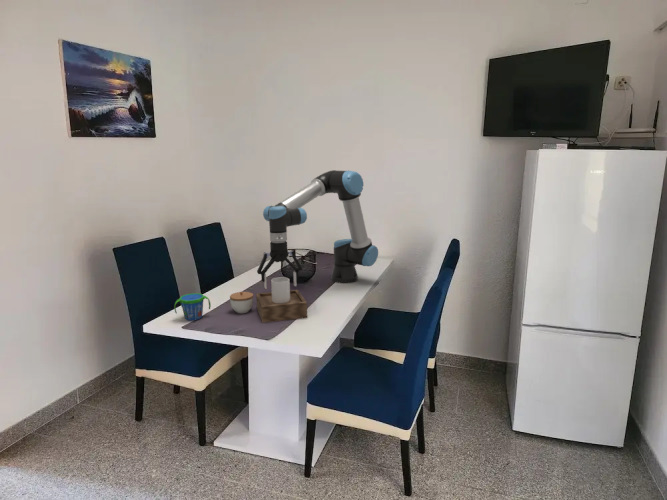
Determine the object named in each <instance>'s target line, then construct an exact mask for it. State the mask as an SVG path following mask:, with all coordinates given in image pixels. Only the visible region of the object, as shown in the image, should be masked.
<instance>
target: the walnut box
mask: <svg viewBox="0 0 667 500" xmlns="http://www.w3.org/2000/svg"><path fill="white" fill-rule="evenodd" d="M255 297H256V309H257V312H258V314H259V318H260V320H261V322H262V323H272V322H273V323H274V322H279V321H290V320H298V319H307V318H308V301H307V300H306V298H304V296H303V295H302V294H301V292H300V291H299V289H290V301H289V302H288V303H284V304H276V303H274V302H273V301H272V291H270V292H260V293H258V292H257V293H256V296H255Z"/></svg>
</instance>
